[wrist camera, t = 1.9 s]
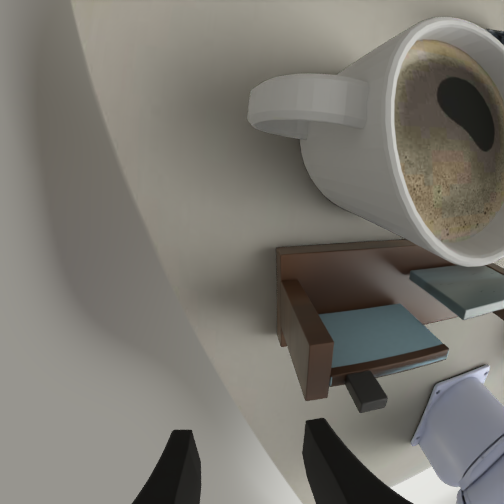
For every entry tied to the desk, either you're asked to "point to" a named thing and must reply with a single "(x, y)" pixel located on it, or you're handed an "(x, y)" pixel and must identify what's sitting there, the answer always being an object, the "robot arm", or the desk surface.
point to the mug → (406, 136)
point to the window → (370, 294)
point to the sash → (377, 350)
